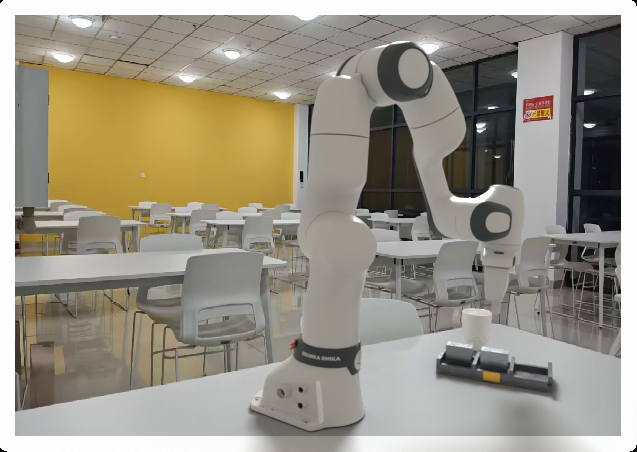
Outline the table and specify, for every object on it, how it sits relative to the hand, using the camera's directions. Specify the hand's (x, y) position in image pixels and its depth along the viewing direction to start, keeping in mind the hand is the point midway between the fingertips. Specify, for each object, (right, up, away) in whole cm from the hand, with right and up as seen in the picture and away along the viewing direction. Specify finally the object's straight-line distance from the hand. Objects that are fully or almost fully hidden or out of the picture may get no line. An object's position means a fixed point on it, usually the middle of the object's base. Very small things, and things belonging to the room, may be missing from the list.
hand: (495, 313), depth 120 cm
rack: (0, -15, 0) cm, 15 cm away
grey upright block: (0, -14, 0) cm, 14 cm away
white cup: (+1, -13, +20) cm, 24 cm away
